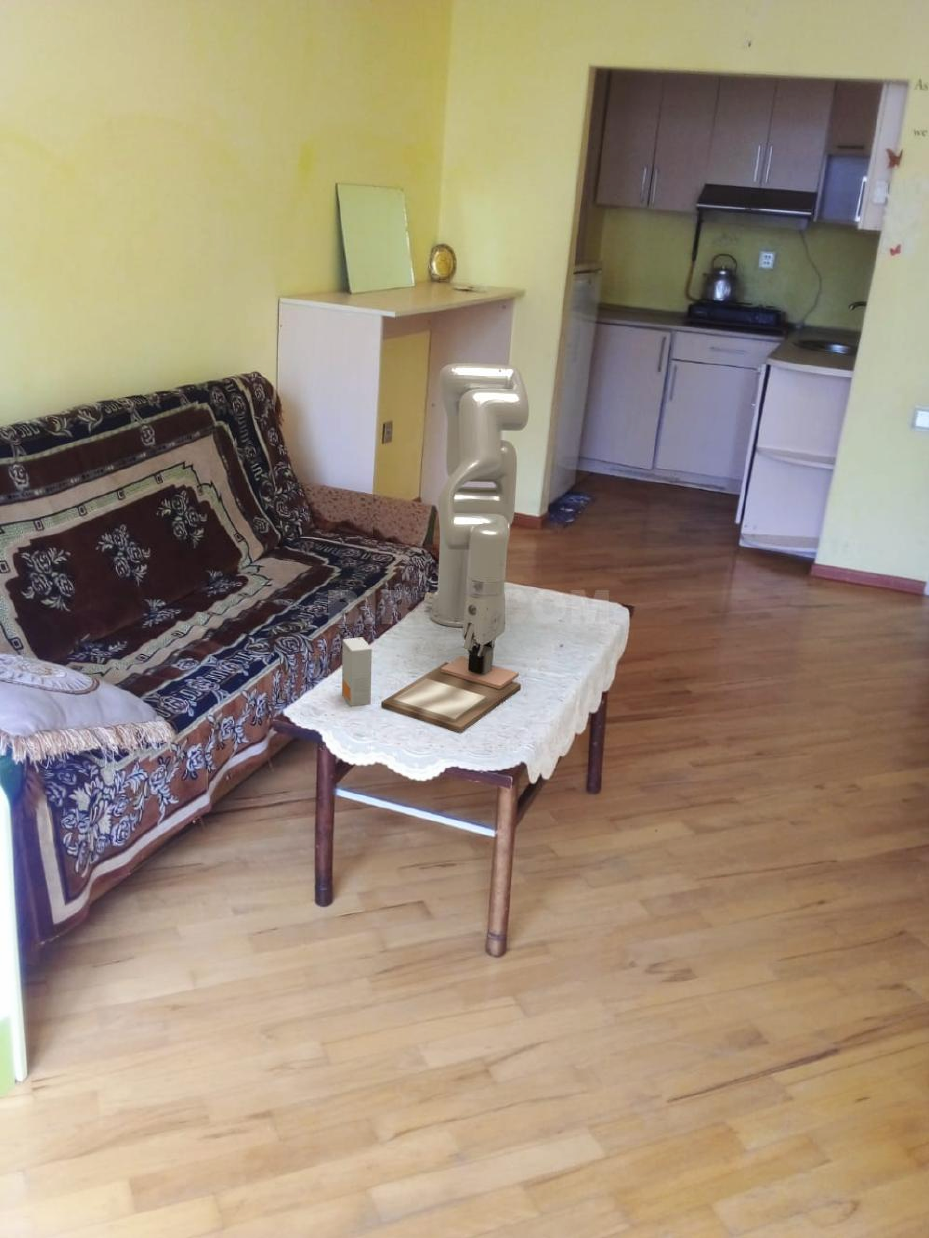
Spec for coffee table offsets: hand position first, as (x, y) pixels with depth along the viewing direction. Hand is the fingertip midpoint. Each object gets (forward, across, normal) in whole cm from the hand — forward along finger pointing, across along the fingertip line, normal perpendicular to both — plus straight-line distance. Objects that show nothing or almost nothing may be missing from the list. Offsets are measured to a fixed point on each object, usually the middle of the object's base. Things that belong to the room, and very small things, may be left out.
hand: (480, 668), depth 228 cm
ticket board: (+3, -11, 0) cm, 11 cm away
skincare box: (+3, -23, +15) cm, 27 cm away
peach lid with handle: (+1, 0, 0) cm, 1 cm away
